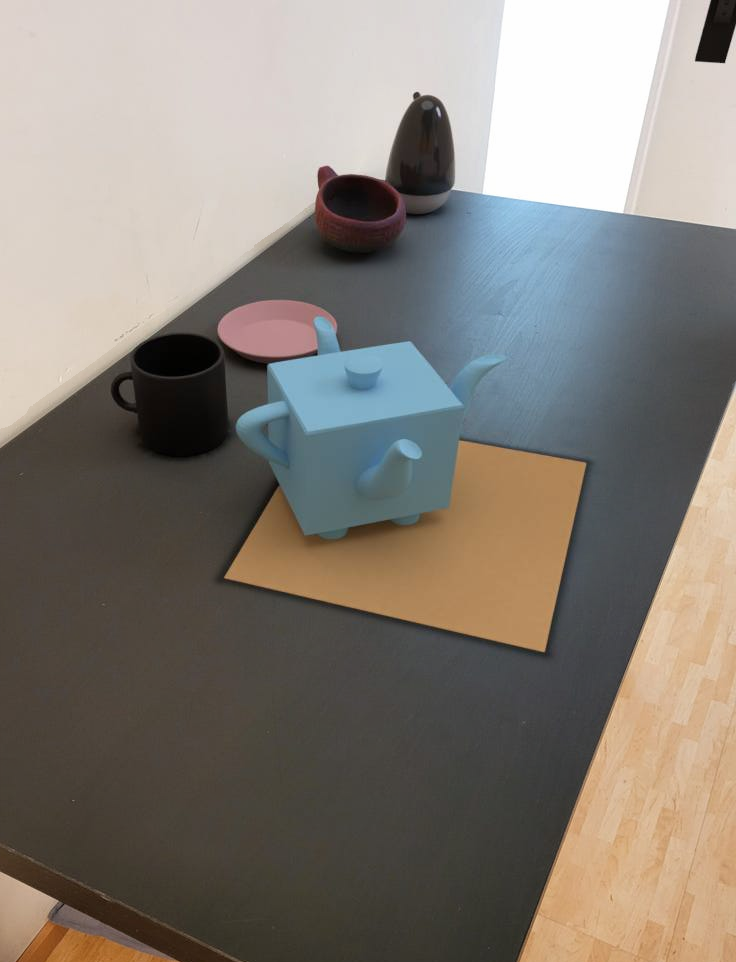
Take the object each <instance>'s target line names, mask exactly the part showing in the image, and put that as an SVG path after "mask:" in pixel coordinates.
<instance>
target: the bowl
mask: <svg viewBox="0 0 736 962" xmlns="http://www.w3.org/2000/svg"><path fill="white" fill-rule="evenodd" d="M316 178H317V187H318V191H317V194H316V198H315V204H314V222H315V227H316V229H317V232H318V233H319V235H320V236H321V238H322V239H323V240H324V241H325V242H326V243H327V244H329V245H330V246H333V248H336V249H339V250H342V251H345V252H349V253H356V254H363V253H364V254H365V253H371V252H375V251H379V250H382V249H384V248H386V247H389V246H390V245H392V244H393V243H394V242H395V241H397V239H398V238H399V237H400V236H401V233H402V232H403V230H404V229H405V225H406V223H407V222H406V220H407V212H406V211H405V205H404V201H403V199H402V196H401V195H400V194H399V193H398V191H397V190H395V189H394V188H393V187H392V186H391V185H389V184H388V183H386V182H385V180H381V179H379V178H376V177H373V176H370V175H365V174H354V173H346V174H340V175H339V174H338V173H337V172H335V170H334V169H333V168H332V167H331V166H330V165H322V166H320V167H319V168H318V170H317V176H316Z"/></svg>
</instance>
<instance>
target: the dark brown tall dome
mask: <svg viewBox="0 0 736 962" xmlns="http://www.w3.org/2000/svg"><path fill="white" fill-rule="evenodd" d="M412 99H413V100H412V101H411V103H410V104H409V105H408V106H407V108H406V110H405V112H404V113H403V115H402V118H401V120H400V122H399V123H398V127H397V129H396V132H395V135H394V138H393V141H392V145H391V149H390V152H389V157H388V159H387V160H388V161H387V165H386V170H385V177H384V178H385V179H384V182H386V183H388V184H389V185H391V186H392V187H393V188H394V189H395V190H397V191H398V193H399V194H400V195H401V196H402V199H403V201H404V205H405V211H406V214H411V215H412V214H413V215H424V214H425V215H426V214H429V213H432V212H434V211H436V210H437V209H439V208H441V207H442V206H443V205H444V204H445V203H446V201H447V199H448V198H449V196H450V194H451V191H452V189H453V188H454V187H455V183H456V154H455V153H456V152H455V143H454V136H453V129H452V125H451V120H450V117H449V114H448V111H447V109H446V106H445V104H444V103H443V102H442V101H441V99H440V98H439V97H437V96H435V95H432V94H424V95H421V92H419V91H415V92H414V93H413V94H412Z"/></svg>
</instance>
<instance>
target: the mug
mask: <svg viewBox="0 0 736 962" xmlns="http://www.w3.org/2000/svg"><path fill="white" fill-rule="evenodd" d="M225 360H226V359H225V351H224V348H223V346H222V345H221V344H220V343H219V342H218V341H217V340H216V339H214V338H212V337H210V336H208V335H205V334H201V333H196V332H183V331H182V332H169V333H163V334H159V335H154V336H152V337H150V338H148V339H146V340H143V341H142V342H140V343H138V345H136V346H135V347H134V348H133V350H132V351H131V352H130V357H129V362H130V369H129V370H126V371H122V372H120V373H119V374H117V375H116V376H115V377H114V378H113V380H112V382H111V385H110V395H111V397H112V399H113V401H114V402H115V404H116V405H117V406H118V407H120V408H121V409H123V410H125V411H127V412H131V413H134V414H136V415H137V422H138V423H137V424H138V429H139V436H140V439H141V441H143V443H144V444H145V445H146V446H147V447H148V448H149V449H151V450H152V451H155V452H157V453H159V454H163V455H167V456H175V457H176V456H177V457H181V456H183V457H184V456H185V457H187V456H193V455H199V454H201V453H205V452H208V451H211V450H212V449H214V448H216V447H217V446H218V445H220V444H221V443H222V442H223V441H224V440H225V438H226V436H227V434H228V431H229V414H228V398H227V397H228V396H227V379H226V378H227V377H226V361H225ZM128 380H129V381H132V385H133V394H134V402H130V401H127V400H126V399H125V398H124V397H123V396H122V394H121V391H120V386H121V384H123V382H125V381H128Z"/></svg>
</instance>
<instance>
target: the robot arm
mask: <svg viewBox="0 0 736 962" xmlns="http://www.w3.org/2000/svg"><path fill="white" fill-rule="evenodd" d="M735 30H736V0H710V1H709V5H708V8H707V13H706V16H705V20H704V24H703V27H702V31H701V34H700V38H699V43H698V46H697V50H696V53H695V58H694V62H697V63H711V64H713V63H714V64H726V61H727V59H728V58H727V57H728V54H729V51H730V47H731V42H732V41H733V37H734V33H735Z"/></svg>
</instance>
